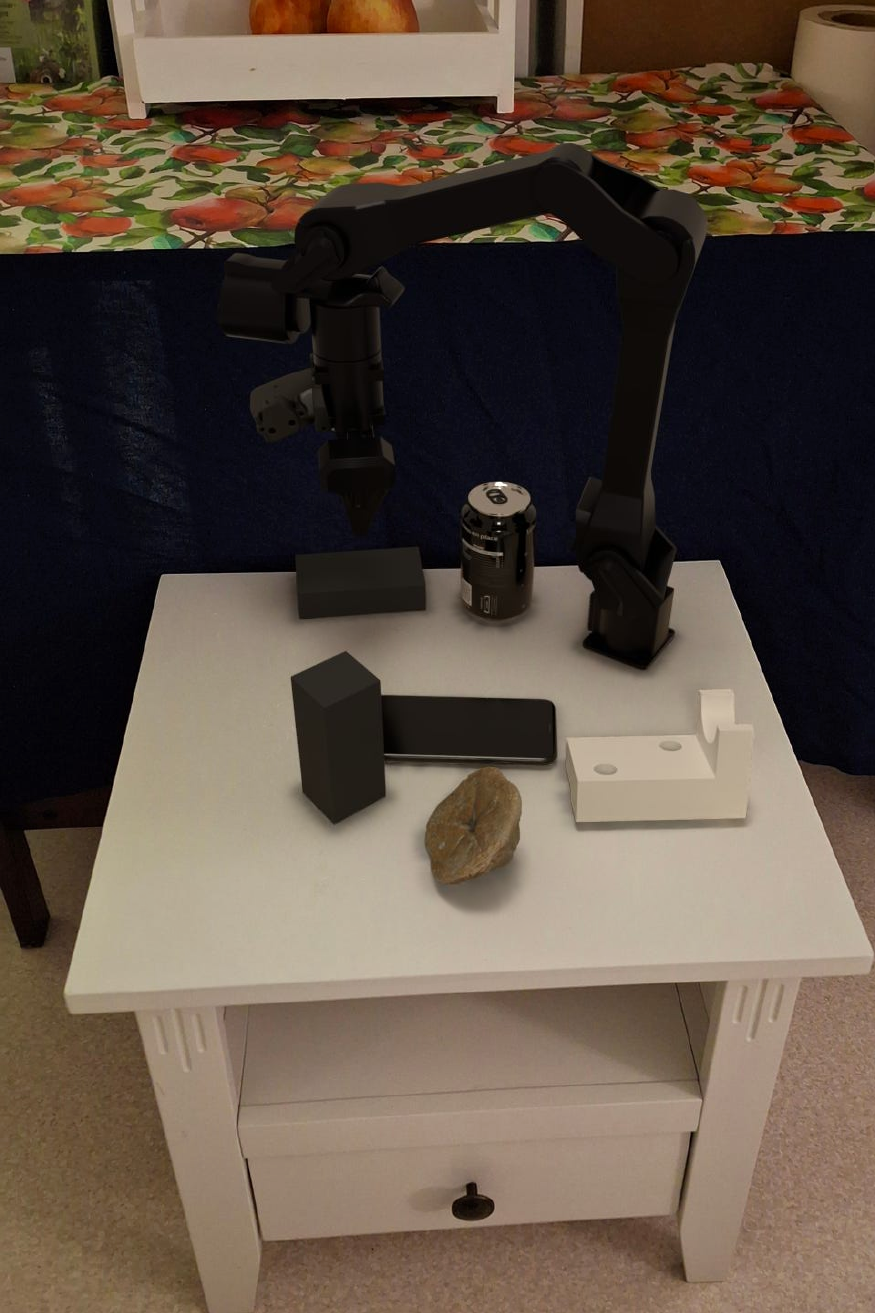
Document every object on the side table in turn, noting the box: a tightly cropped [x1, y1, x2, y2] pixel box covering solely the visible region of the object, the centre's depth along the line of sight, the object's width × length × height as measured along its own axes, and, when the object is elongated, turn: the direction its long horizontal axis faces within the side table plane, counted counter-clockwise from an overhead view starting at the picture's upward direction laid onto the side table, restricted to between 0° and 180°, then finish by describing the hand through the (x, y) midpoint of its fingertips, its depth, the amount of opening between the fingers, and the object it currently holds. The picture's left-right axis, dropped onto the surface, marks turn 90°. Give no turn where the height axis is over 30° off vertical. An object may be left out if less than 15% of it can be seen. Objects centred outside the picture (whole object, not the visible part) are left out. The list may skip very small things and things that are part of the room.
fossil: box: [424, 766, 523, 886], centre depth 90 cm, size 9×4×10 cm
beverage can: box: [460, 481, 538, 622], centre depth 113 cm, size 7×7×12 cm
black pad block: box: [289, 650, 387, 825], centre depth 93 cm, size 5×4×12 cm
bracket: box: [565, 688, 756, 823], centre depth 95 cm, size 13×7×8 cm, turn 91°
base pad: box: [294, 546, 427, 620], centre depth 117 cm, size 12×6×3 cm, turn 96°
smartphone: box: [381, 694, 558, 767], centre depth 102 cm, size 8×1×16 cm
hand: (356, 507), depth 112 cm, fingers open, 9 cm apart
